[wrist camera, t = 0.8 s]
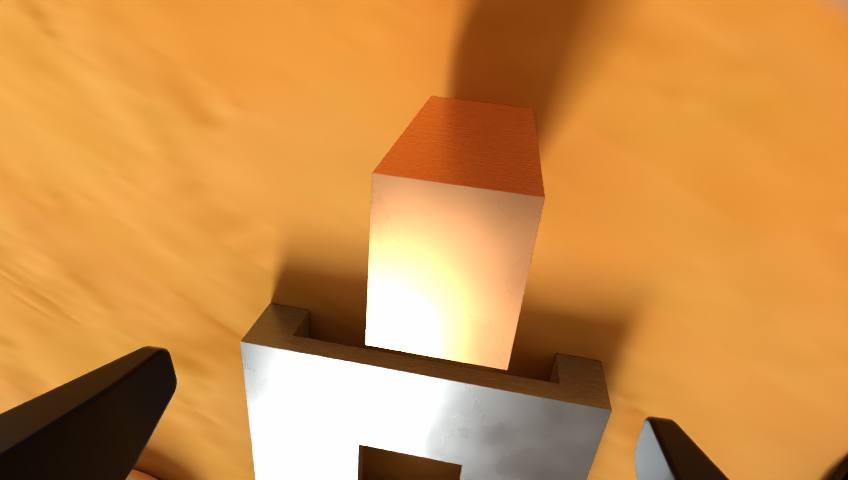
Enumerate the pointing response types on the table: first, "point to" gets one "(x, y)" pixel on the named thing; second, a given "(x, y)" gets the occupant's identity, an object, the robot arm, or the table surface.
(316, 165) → the table surface
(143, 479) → the doughnut
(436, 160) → the square wooden peg
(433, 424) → the slotted plate
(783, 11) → the table surface
